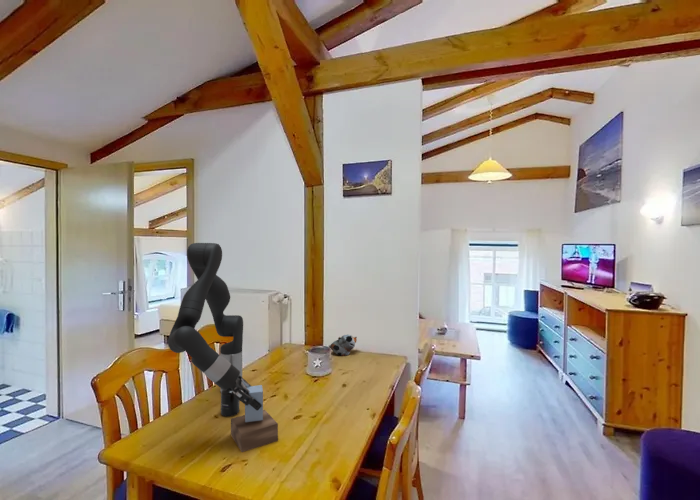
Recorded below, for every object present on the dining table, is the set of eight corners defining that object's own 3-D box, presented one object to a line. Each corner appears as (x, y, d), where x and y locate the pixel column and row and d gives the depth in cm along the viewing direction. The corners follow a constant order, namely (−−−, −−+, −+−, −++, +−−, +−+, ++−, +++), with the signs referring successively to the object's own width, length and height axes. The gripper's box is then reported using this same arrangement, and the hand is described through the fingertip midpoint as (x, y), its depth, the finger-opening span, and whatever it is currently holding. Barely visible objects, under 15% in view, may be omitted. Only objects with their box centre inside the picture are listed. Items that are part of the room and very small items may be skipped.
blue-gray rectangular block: (244, 414, 124) (244, 386, 123) (261, 412, 125) (261, 385, 125) (245, 422, 118) (245, 393, 118) (262, 420, 120) (262, 391, 120)
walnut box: (230, 436, 124) (230, 418, 123) (264, 426, 130) (264, 409, 130) (241, 453, 114) (241, 434, 113) (277, 441, 120) (277, 423, 120)
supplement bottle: (220, 418, 135) (220, 386, 135) (221, 410, 142) (221, 379, 142) (239, 415, 137) (239, 384, 137) (239, 407, 144) (239, 377, 144)
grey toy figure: (340, 348, 225) (351, 329, 224) (352, 360, 217) (364, 340, 216) (324, 346, 214) (335, 326, 213) (337, 358, 206) (349, 337, 205)
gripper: (229, 370, 112) (269, 404, 116) (230, 356, 126) (265, 387, 130) (211, 389, 111) (251, 423, 115) (214, 373, 125) (250, 403, 128)
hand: (259, 403), depth 122 cm, fingers closed on blue-gray rectangular block, 5 cm apart
